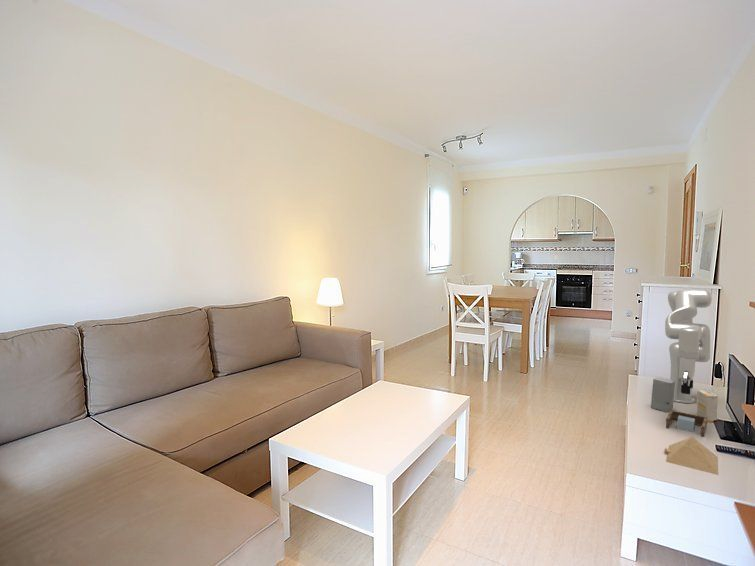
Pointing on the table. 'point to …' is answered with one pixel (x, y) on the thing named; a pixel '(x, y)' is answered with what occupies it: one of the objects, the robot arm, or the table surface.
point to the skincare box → (662, 394)
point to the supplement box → (707, 405)
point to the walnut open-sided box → (698, 419)
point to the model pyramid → (692, 455)
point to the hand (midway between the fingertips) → (687, 390)
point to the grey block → (686, 423)
